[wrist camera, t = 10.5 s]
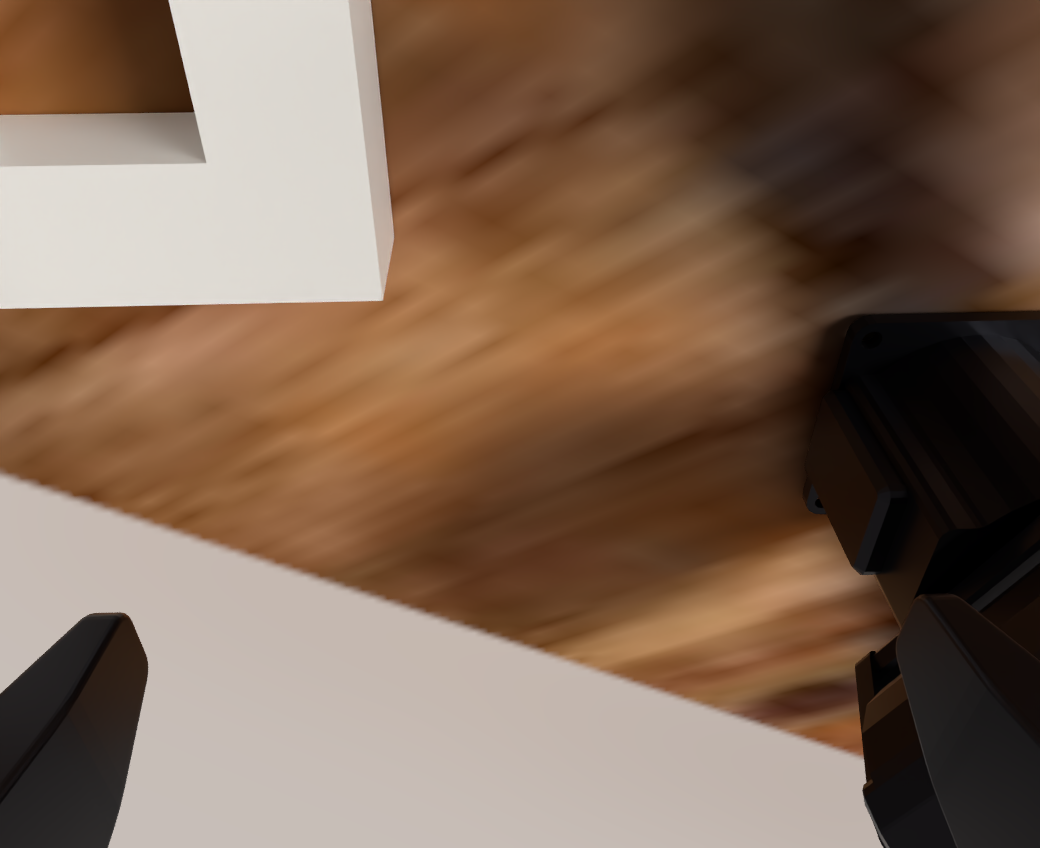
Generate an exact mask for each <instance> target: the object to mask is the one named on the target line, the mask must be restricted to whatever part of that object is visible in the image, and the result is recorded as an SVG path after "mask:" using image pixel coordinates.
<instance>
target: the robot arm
mask: <svg viewBox="0 0 1040 848" xmlns="http://www.w3.org/2000/svg"><path fill="white" fill-rule="evenodd" d="M871 332H876V333H875V335H874V336H873V337H872V338H870V339H869V340H865V341H862V339H863V338H864V336H865V335H867V334H868V333H871ZM804 466H805V470H806V472H807V474H808V475H807V479H806V483H805V486H804V490H803V500H804V502H805V504H806V506H807V508H808V510H809V511H811V512H812V513H815V514H827V516H828V518H829V520H830V522H831V524H832V526H833V529H834V531H835V533H836V535H837V537H838V539H839V541H840V543H841V545H842V547H843V550H844V552H845V554H846V556H847V558H848V560H849V562H850V564H851V566H852V567H853V568H854V569H855V570H856V571H857V572H858V573H859V574H860V575H874V577H875V579H876V581H877V583H878V585H879V587H880V589H881V591H882V593H883V595H884V597H885V599H886V601H887V603H888V605H889V607H890V609H891V611H892V613H893V615H894V617H895V619H896V621H897V623H898V625H899V627H900V629H901V630H900V632H899V634H897V635H896V636H895V637H894V638H893V639H891V640H890V641H889V642H888V643H887V644H886V645H884V646H883V647H882V648H881V649H880V650H878V651H877V652H875V651H871V652H869V653H868V654H867V655H866V656H865V657H864V658H862V659H861V660H860V661H859V662H858V663H856V664H855V672H856V682H857V692H858V702H859V712H860V722H861V732H862V742H863V752H864V762H865V772H866V781H867V783H866V784H864V786H863V796H864V802H865V806H866V808H867V810H868V812H869V814H870V817H871V819H872V821H873V823H874V826H875V829H876V831H877V834H878V837H879V840H880V842H881V844H882V846H883V847H884V848H1040V311H1033V312H987V313H942V314H896V315H869V316H863V317H861V318H859V319H858V320H856V321H855V322H854V323H853V324H852V325H851V326H850V327H849V329H848V331H847V334H846V337H845V341H844V345H843V348H842V352H841V355H840V359H839V363H838V366H837V370H836V374H835V377H834V381H833V385H832V388H831V390H830V391H828V392H827V394H826V395H825V396H824V397H823V398H822V401H821V405H820V409H819V412H818V416H817V420H816V424H815V427H814V431H813V435H812V438H811V442H810V446H809V450H808V453H807V457H806V461H805V465H804ZM817 498H819V499H817ZM147 677H148V661H147V657H146V654H145V651H144V649H143V647H142V644H141V642H140V639H139V637H138V635H137V633H136V630H135V627H134V625H133V623H132V621H131V619H130V617H129V616H128V615H126V614H125V613H93V614H89V615H87V616H86V617H84V618H82V619H81V620H80V621H79V622H78V623H77V624H76V625H75V626H74V627H72V628H71V629H70V630H69V631H68V632H67V633H66V634H65V635H64V636H63V637H61V639H59V640H58V641H57V642H56V643H55V644H54V645H53V646H52V647H51V648H50V649H48V650H47V651H46V652H45V653H44V654H43V655H42V656H41V657H40V658H39V659H38V660H37V661H35V662H34V663H33V664H32V665H31V666H30V667H29V668H28V669H27V670H26V671H25V672H24V673H22V674H21V675H20V676H19V677H18V678H17V679H16V680H15V681H14V682H13V683H12V684H11V685H9V686H8V687H7V688H6V689H5V690H4V691H3V692H2V693H1V694H0V848H108V845H109V842H110V839H111V836H112V833H113V830H114V826H115V823H116V819H117V816H118V813H119V809H120V806H121V801H122V797H123V793H124V788H125V784H126V778H127V774H128V769H129V764H130V760H131V755H132V750H133V745H134V740H135V735H136V730H137V726H138V721H139V716H140V711H141V706H142V702H143V697H144V692H145V687H146V682H147Z"/></svg>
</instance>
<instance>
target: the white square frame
mask: <svg viewBox="0 0 1040 848" xmlns="http://www.w3.org/2000/svg"><path fill="white" fill-rule="evenodd" d="M169 4H170V9H171V13H172V17H173V22H174V26H175V30H176V34H177V39H178V43H179V47H180V52H181V56H182V60H183V64H184V69H185V73H186V77H187V82H188V86H189V90H190V94H191V99H192V103H193V107H194V112H187V113H114V114H42V115H0V309H9V308H57V307H105V306H153V305H201V304H248V303H296V302H344V301H383V297H384V291H385V286H386V280H387V275H388V269H389V264H390V258H391V253H392V247H393V242H394V229H393V219H392V209H391V199H390V189H389V179H388V169H387V159H386V149H385V139H384V129H383V119H382V109H381V99H380V89H379V79H378V69H377V59H376V49H375V39H374V29H373V19H372V9H371V0H169Z"/></svg>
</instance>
